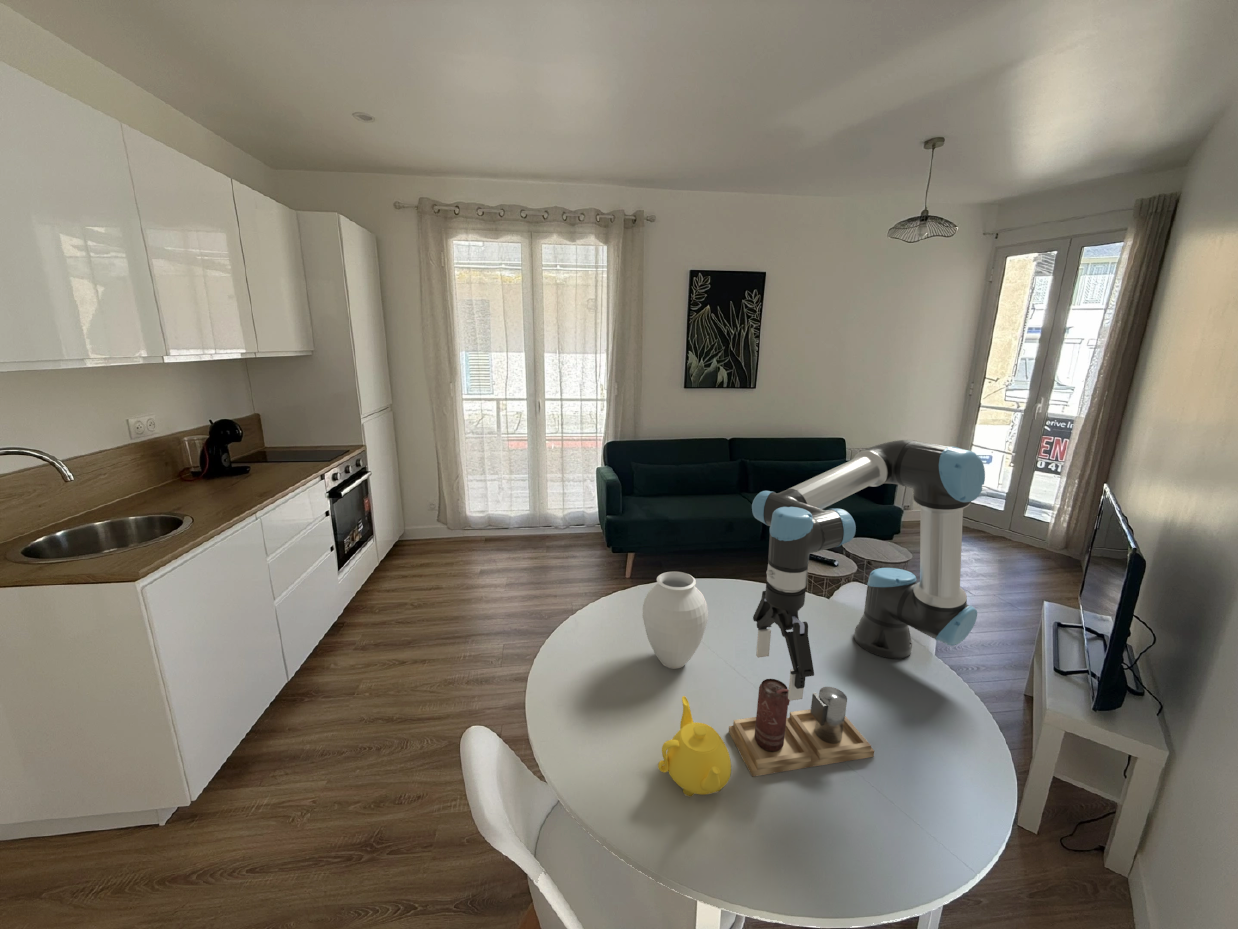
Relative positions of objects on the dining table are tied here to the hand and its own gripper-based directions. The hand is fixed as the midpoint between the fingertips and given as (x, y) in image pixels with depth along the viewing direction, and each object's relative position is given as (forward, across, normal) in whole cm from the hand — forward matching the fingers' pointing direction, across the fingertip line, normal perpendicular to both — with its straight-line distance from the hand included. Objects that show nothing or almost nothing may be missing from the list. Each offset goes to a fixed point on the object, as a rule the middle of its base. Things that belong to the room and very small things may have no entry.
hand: (777, 676), depth 100 cm
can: (+17, 0, -1) cm, 17 cm away
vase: (+18, -33, -12) cm, 40 cm away
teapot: (+18, +4, -20) cm, 27 cm away
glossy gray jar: (+17, 0, +13) cm, 21 cm away
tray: (+18, 0, +6) cm, 19 cm away
